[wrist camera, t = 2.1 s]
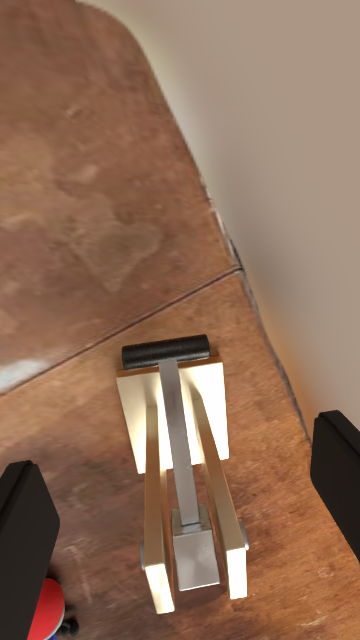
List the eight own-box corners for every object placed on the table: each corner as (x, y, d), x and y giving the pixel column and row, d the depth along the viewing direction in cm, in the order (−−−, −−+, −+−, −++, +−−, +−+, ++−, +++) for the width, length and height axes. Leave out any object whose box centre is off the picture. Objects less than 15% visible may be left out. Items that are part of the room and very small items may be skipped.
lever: (125, 345, 17) (118, 347, 15) (203, 334, 18) (209, 333, 15) (154, 560, 17) (152, 597, 14) (235, 544, 17) (246, 578, 15)
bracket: (116, 370, 24) (84, 531, 12) (219, 355, 24) (288, 493, 12) (138, 463, 28) (130, 651, 16) (226, 448, 28) (281, 620, 16)
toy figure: (86, 610, 39) (76, 567, 31) (75, 666, 34) (60, 632, 27) (31, 608, 38) (7, 565, 31) (12, 665, 34) (-21, 631, 26)
